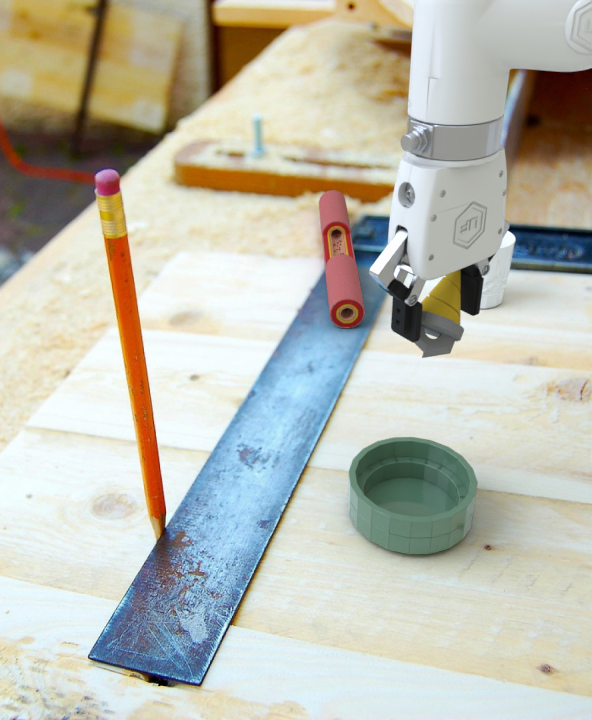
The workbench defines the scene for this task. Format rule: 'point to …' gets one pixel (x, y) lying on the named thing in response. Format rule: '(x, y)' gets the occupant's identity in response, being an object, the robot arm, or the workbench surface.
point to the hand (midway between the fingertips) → (435, 321)
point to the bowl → (411, 495)
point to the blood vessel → (340, 262)
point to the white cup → (498, 273)
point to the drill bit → (441, 317)
